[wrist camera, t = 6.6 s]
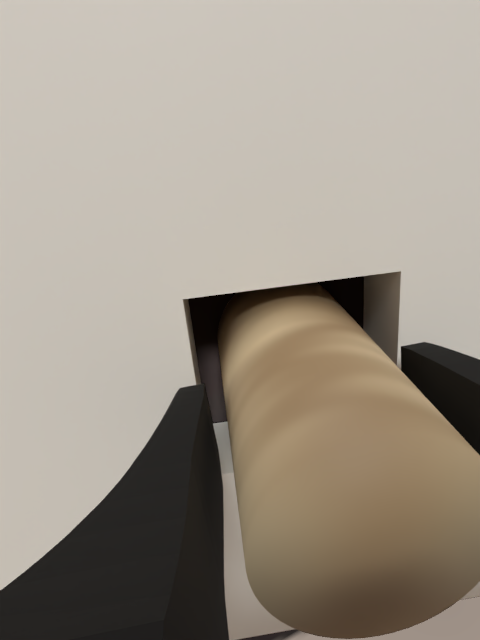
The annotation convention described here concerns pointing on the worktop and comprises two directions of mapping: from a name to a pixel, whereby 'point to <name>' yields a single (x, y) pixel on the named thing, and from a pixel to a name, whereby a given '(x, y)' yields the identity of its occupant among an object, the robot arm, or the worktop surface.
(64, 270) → the holder board
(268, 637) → the worktop surface
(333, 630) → the maple dowel
